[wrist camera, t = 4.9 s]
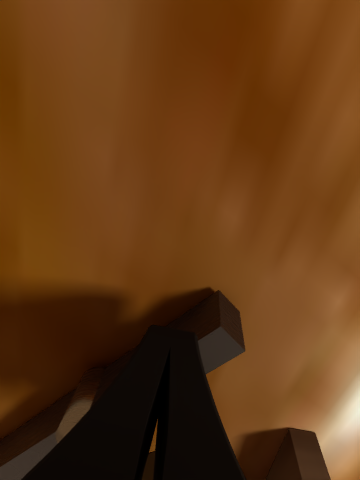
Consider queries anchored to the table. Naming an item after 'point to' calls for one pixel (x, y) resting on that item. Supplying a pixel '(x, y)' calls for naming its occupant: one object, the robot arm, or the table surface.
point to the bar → (99, 379)
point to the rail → (299, 458)
